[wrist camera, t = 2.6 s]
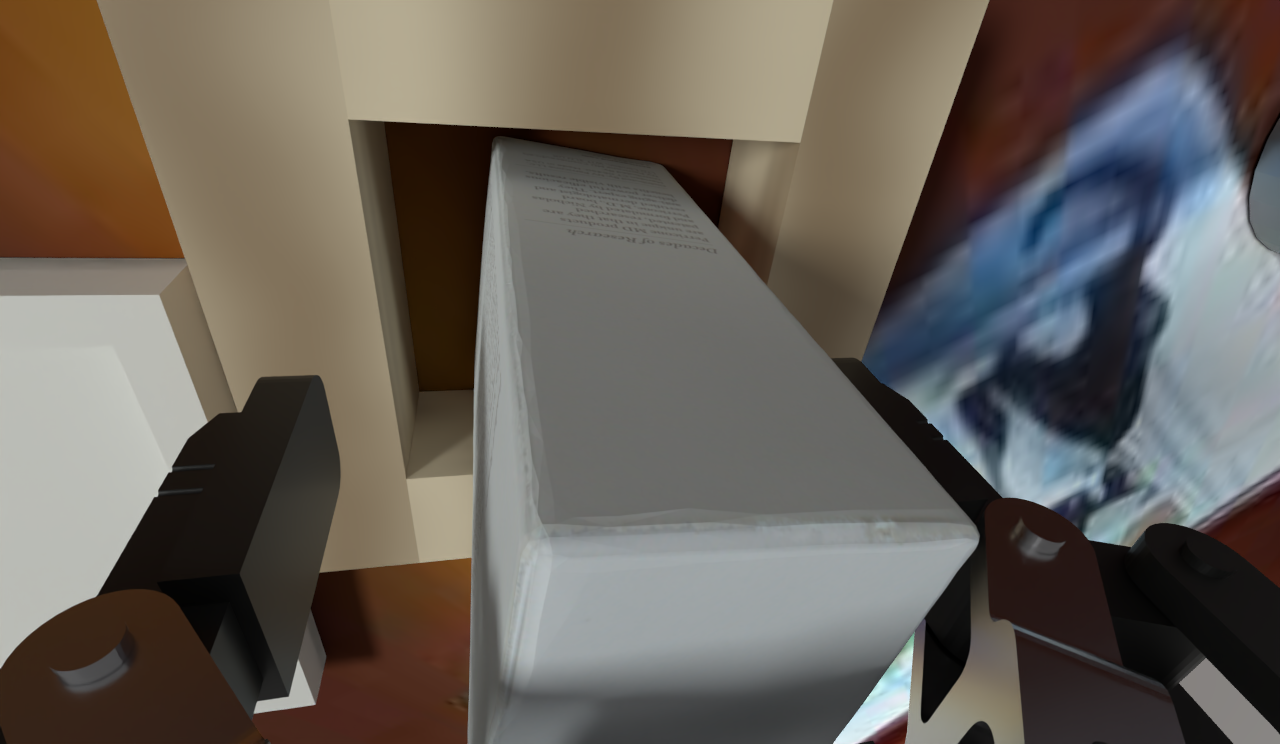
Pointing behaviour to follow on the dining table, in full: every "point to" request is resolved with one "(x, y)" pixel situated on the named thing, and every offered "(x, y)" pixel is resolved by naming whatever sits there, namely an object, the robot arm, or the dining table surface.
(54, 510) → the grey tray
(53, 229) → the dining table surface
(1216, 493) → the dining table surface
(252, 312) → the frame
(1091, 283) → the dining table surface
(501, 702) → the skincare box
